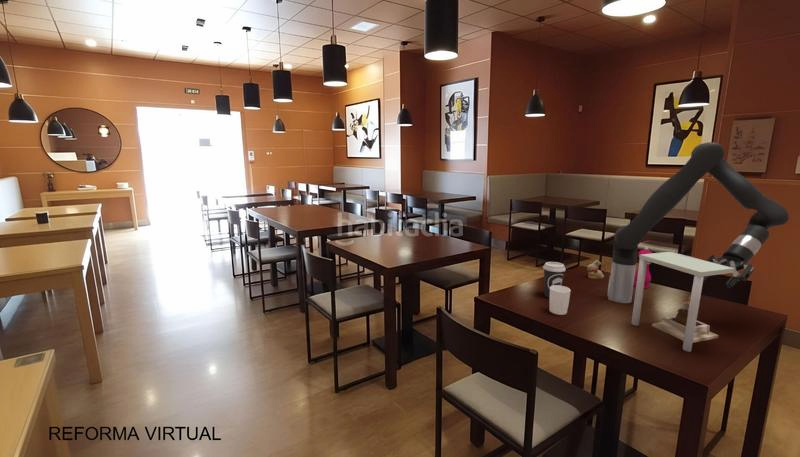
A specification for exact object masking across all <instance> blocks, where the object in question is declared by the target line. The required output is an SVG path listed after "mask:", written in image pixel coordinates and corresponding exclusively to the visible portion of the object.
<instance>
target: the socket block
mask: <svg viewBox="0 0 800 457" xmlns="http://www.w3.org/2000/svg"><path fill="white" fill-rule="evenodd" d="M661 319H662V320H661V321H660V322H655V323H652V324H651V326H652V327H653V328H656V329H657V330H659V331H662V332H664V333H666V334H668V335H670V336H672V337H675V338H676V339H679V340H681V341H682V342H684V336H685V330H686V326H684V325H681V324H679V323H677V322H675V319H676V315H671V316H666V317H665V316H663V317H662V318H661ZM710 326H711V325H709V324H706V323H704V322H701V321H699V320H696V326H695V332H694V338H693V343H698V342H704V341H710V340H715V339H719V334H716V333H714V332H712V331H710V328H711V327H710Z"/></svg>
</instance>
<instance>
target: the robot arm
mask: <svg viewBox="0 0 800 457" xmlns="http://www.w3.org/2000/svg"><path fill="white" fill-rule="evenodd" d="M724 156H725V149H724V147H723V145H721V144H720V143H718V142H715V141H714V142H711V141H710V142H703V143H700V144H698V145H697V146H695V147H694V148H693V150H692V151H691V154H690V158H689V159H688V160H687V162H686V163H685V164H684V165H683V166H682V168H680V169H679V171H677V172H676V173H675V174H673V175H672V176H670V178H668V179H666V180H665V181H664V182H663V183H662V184H661V185H660V186H659V187H658V188H657V189H656V190H655V191H654V192H653V193H652V194H651V195H650V197H649V198H648V199H647V200H646V201H645V203H644V204H643V206H642V208H641V209H640V210H639V212H638V214H637V215H636V216H635V218H634V219H632V220H631V221H630V222H629V223H628V224H627V225H622V226H620V227H619V228H617V229H616V231H615V233H614V239H613V249H612V258H611V259H612V261H611V267H610V268H611V269H610V275H609V279H608V287H607V300H608V301H612V302H614V303H619V304H630V303H632V300H633V292H634V287H635V286H634V282H635V279H634V278H635V272H636V271H637V270H636V269H637V263H638V248H639V245H640V243H641V242H642V241H643V239H644V238H645V237H646V235H648V233H649V232H650V230H651V229H653V227H654V226H655V225H656V224H658V223H659V222H660V221H661V220H662V219H664V217H666V216H667V214H669V213H670V212H671V211H672V210H673V209H674V208H675V207H676V206H677V205H678V204H679V203H680V202H681V201H682V200H683V199H684V198H685V197H686V196H687V194H688V193H689V192H690V191H691V190H692V188H693V187H694V186H695V185H696V184H697V183H698V182H699V181H700V180H701V179H702V178H703V177H704V176H705V175H706V174H707V173H708V174H709V175H711V176H712V177H713V178H714V179H716V180H717V182H719V183H720V184H721V185H722V186H723V187H724V188H725V189H726V190H727V192H728V193H729V194H730V195H731V196H732V197H733V198H734V199H735V201H736V202H738V203H739V204H740V205H741V207H743V208H744V209H746V210H755V213H753V214H752V215H751V216H750V219H749V221H748V223H747V225H746V227H745V229H744V230H743V231H742V232H741V233H740V235H739V236H737V237H736V238H735V239H734V240H733V241H732V243H731V244H729V246H728V247H727V248H726V250H725V251H723V254H722V255H721V257H716V256H715V255H714V254H712V255H710V256H709V257H708V258H707V259H706V260H705V261H708V262H712V263H716V264H720V265H724V266H727V267H731V268H734V273H732V276H730V278H729V279H728V280H727V281H726V282H725V287H726V288H729V289H731V288H732V287H734V286H735V285H736V284H737V283H738V282H739V281H742V282H747V280H748V279H749V278H750V276H752V274H753V273H754V271H755V268H754V267H753V266H754V265H753V264H750V262H751V260H752V259H753V258H754V256H756V254H757V253H758V251H759V250H760V249H761V247H762V246H763V245H764V244H765V243H766V242H767V240H768V239H769V237H770V232H769V229H770V228H773V227H778V226H779V227H780V226H783V225H785V224H787V223H788V222H789V220H790V214H789V212H788V211H787V209H786V208H785V207H784V206H782V205H781V204H779V203H778V202H776V201H775V200H773V199H772V198H769V197H767V196H766V195H765V194H763V193H762V191H761V190H759V189H758V188H757V187H756V185H754V184H753V183H752V182H751V181H750V180H748V179H747V178H746V177H744V176H743V175H742V174H741V173H739V172H738V171H737V170H735V168H733V167H732V166H731V165H730V164H729V163H728V162H727V161H726V159H725V158H724ZM742 270H743V271H742ZM739 271H742V272H741V273H740V272H739ZM709 277H710V276H704V279H703V281H706V280H707V279H708V278H709Z"/></svg>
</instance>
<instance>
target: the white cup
mask: <svg viewBox="0 0 800 457" xmlns="http://www.w3.org/2000/svg"><path fill="white" fill-rule="evenodd" d="M571 291H572V290H571V289H570V288H569V287H568V286H563V285H562V286H558V285H555V286H551V287H550V296H549V297H548V298H549V299H548V300H549V302H548V303H549V309H548V310H549V312H550V313H552V314H554V315H561V316H563V315H567V313H568V308H569V304H570V297H571Z"/></svg>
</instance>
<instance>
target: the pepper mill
mask: <svg viewBox="0 0 800 457" xmlns="http://www.w3.org/2000/svg"><path fill="white" fill-rule="evenodd" d="M652 253H653V252H652V251H650V250H649V247H647V246H645V247H644V248H643V249H641V250H639V251H638V252H637V258H639V257H640V255H641V254H652ZM639 262H640V259H638V260H637V263H639ZM650 264H651V262H649V261H647V268H646V275H645V282H644V289H649V288H650V282H651V281H652V275H651V273H650ZM638 270H639V267H638V268H637V270H636V271H635V278H634V286H633V287H635V286H636V285H637V277H638Z"/></svg>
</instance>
